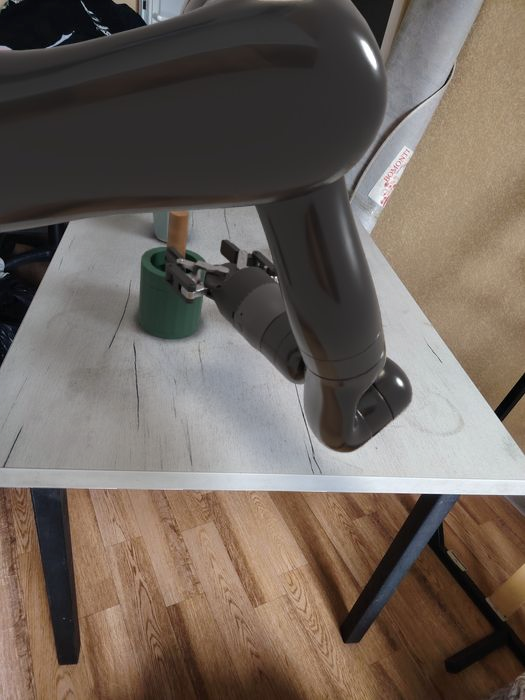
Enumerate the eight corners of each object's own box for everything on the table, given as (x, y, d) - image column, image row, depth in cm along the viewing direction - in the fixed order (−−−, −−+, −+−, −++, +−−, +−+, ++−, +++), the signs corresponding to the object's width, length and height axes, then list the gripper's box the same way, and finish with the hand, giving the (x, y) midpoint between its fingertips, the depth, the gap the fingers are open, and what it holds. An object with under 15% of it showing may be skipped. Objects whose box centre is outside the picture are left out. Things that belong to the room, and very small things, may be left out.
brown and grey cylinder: (160, 325, 76) (168, 218, 65) (153, 309, 79) (160, 204, 68) (187, 322, 78) (199, 218, 67) (179, 307, 81) (189, 205, 70)
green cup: (147, 342, 73) (151, 280, 67) (132, 306, 80) (134, 247, 73) (207, 335, 78) (216, 276, 71) (188, 302, 84) (195, 245, 78)
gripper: (315, 275, 58) (243, 219, 68) (215, 295, 50) (149, 228, 60) (301, 325, 63) (235, 265, 72) (207, 350, 55) (146, 280, 64)
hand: (196, 248), depth 66 cm, fingers open, 8 cm apart
